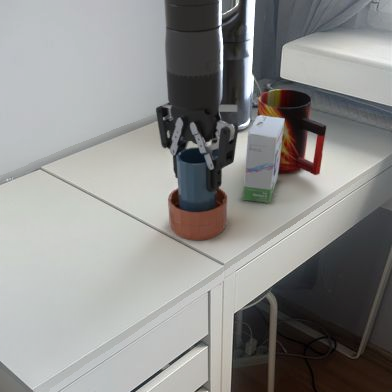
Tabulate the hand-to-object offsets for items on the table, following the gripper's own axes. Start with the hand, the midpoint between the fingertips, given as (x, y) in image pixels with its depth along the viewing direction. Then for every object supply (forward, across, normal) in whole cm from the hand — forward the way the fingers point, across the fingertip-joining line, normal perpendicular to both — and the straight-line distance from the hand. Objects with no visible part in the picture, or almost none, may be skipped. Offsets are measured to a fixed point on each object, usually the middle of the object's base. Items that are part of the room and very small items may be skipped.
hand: (197, 182), depth 79 cm
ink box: (+8, -1, -16) cm, 18 cm away
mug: (+8, +1, -28) cm, 29 cm away
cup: (+4, 0, 0) cm, 4 cm away
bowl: (+8, 0, 0) cm, 8 cm away
